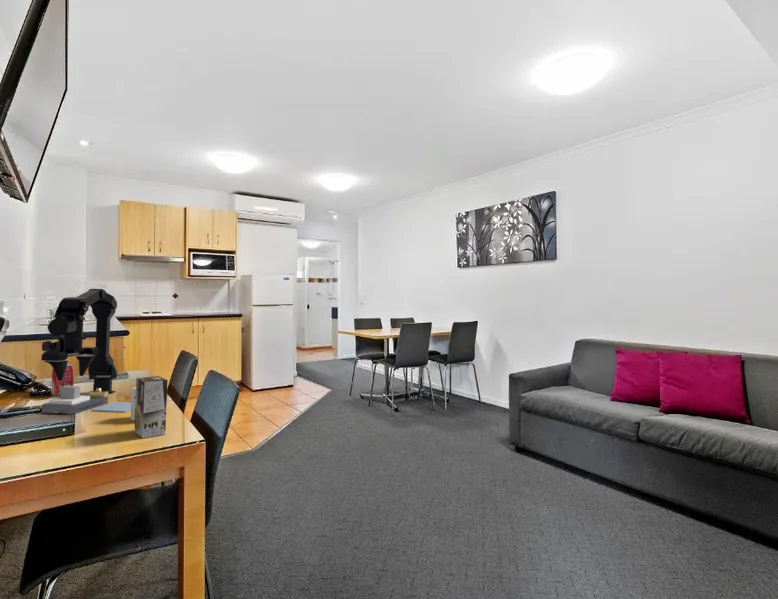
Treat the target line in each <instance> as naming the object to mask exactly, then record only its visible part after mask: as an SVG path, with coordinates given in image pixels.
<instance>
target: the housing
mask: <svg viewBox="0 0 778 599" xmlns="http://www.w3.org/2000/svg"><path fill="white" fill-rule="evenodd" d="M80 396H89V394H84V393H82V394H81V393H80ZM108 397H109V395H108V396H107V397H90V400H86V401H83V402H79V403H76V404H72V405H68V404H49V402H46V403H42V408H41V409H42V410H41V411H42V412H41V413H42V414H51V413H53V412H58V413H75V414H74V415H76V414H78V413H82V412H86V411H88V410H92V409H95V408H98V407H101V406H104V405H107V404H109V398H108Z"/></svg>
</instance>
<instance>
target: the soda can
mask: <svg viewBox="0 0 778 599" xmlns="http://www.w3.org/2000/svg"><path fill="white" fill-rule="evenodd" d="M74 377H75V368H74V367H73V363H67V366H66V370H65V373H64V376H63V379H62V380H61V381H59V380H58V379H57V376H56V374H55V371H54V369H53V368H52V371H51V394H52V395H54V396H57V397H58V396H60V397H61V387H63V386H75V384H74V382H75V381H74V380H75V378H74Z"/></svg>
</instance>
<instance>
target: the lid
mask: <svg viewBox="0 0 778 599" xmlns="http://www.w3.org/2000/svg"><path fill="white" fill-rule="evenodd" d="M80 394H81V385H73V386H63V387H61V396H60V397H56V398H53V399H49V400H48V401H49V402H48V403H49V404H68V405H72V404H76V403H79V402H83V401H86V400H90V396H80Z"/></svg>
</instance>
